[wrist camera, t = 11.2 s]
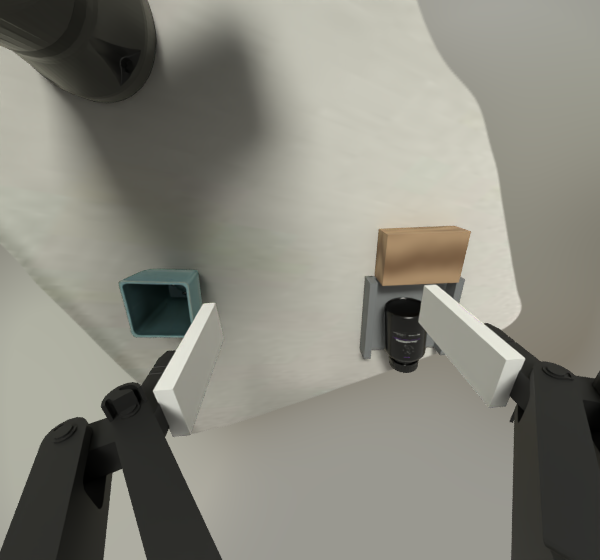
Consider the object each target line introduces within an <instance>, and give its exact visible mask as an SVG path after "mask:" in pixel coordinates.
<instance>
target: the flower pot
mask: <svg viewBox="0 0 600 560" xmlns="http://www.w3.org/2000/svg"><path fill="white" fill-rule="evenodd" d="M119 288H120V292H121V295H122V299H123V302H124V306H125V310H126V313H127V317H128V321H129V325H130V329H131V333H132V335H133V336H134V337H140V338H143V337H144V338H152V337H153V338H154V337H155V338H158V337H159V338H184V336H185V334H186V333H187V331H188V329H189V327H190V326H191V324H192V322H193V320H194V319H195V317H196V315H197V314H198V312H199V310H200V308H201V307H202V298H201V290H200V282H199V273H198V271H197V270H184V269H149V270H144V271H142V272H139V273H137V274H134V275H132V276H130V277H128V278H126V279H124V280H121V281H119ZM183 292H186V294H183Z"/></svg>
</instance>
